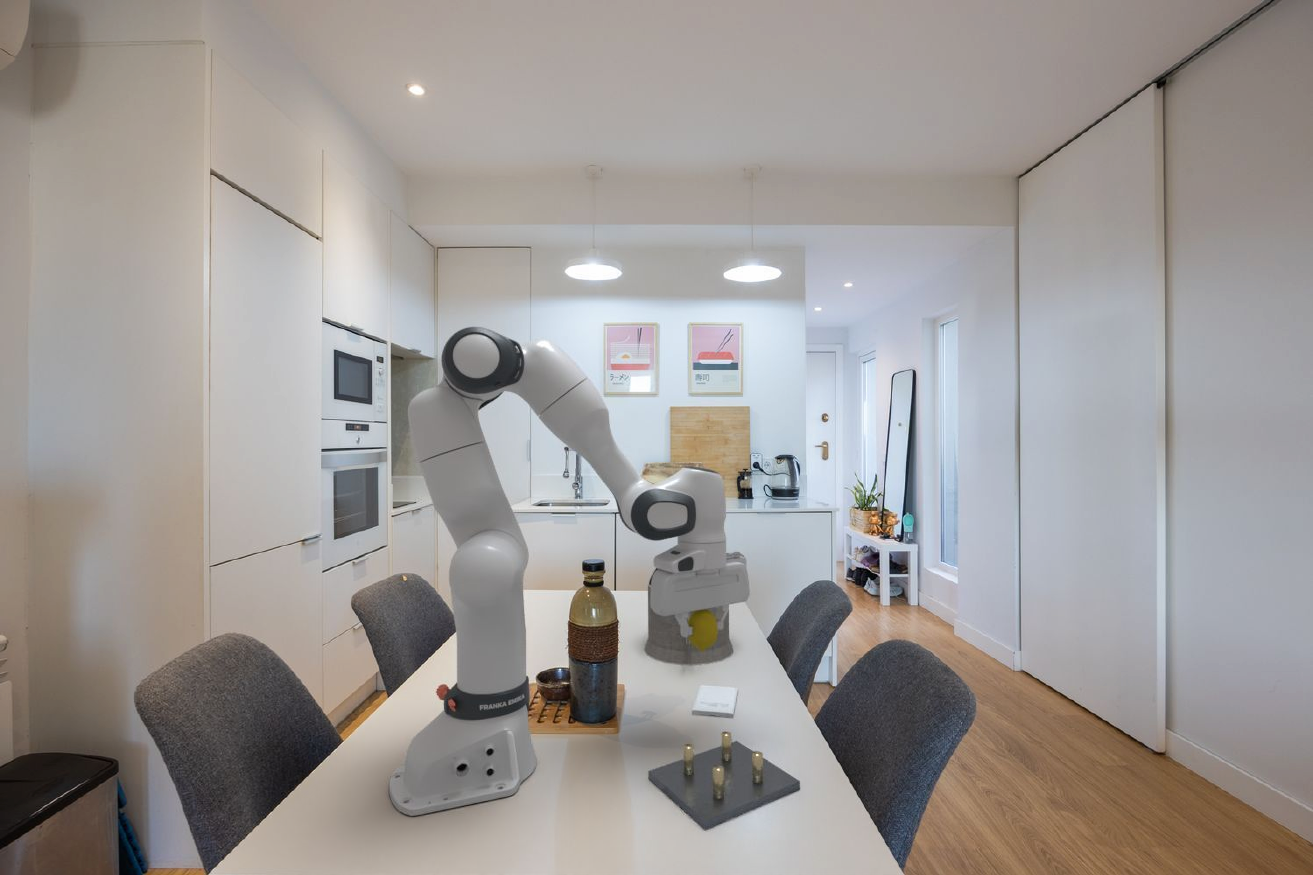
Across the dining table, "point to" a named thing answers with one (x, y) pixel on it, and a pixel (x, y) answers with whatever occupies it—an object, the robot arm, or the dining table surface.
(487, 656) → the robot arm
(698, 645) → the lemon
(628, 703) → the dining table surface
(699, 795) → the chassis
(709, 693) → the external hard drive
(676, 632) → the pitcher
